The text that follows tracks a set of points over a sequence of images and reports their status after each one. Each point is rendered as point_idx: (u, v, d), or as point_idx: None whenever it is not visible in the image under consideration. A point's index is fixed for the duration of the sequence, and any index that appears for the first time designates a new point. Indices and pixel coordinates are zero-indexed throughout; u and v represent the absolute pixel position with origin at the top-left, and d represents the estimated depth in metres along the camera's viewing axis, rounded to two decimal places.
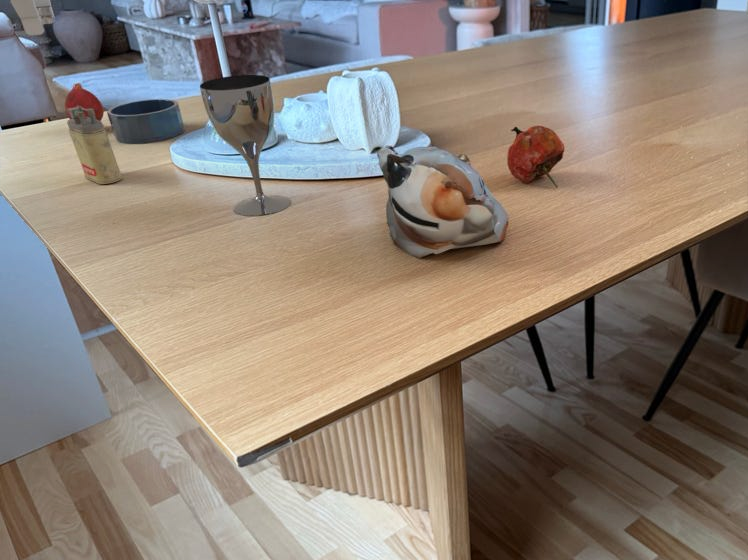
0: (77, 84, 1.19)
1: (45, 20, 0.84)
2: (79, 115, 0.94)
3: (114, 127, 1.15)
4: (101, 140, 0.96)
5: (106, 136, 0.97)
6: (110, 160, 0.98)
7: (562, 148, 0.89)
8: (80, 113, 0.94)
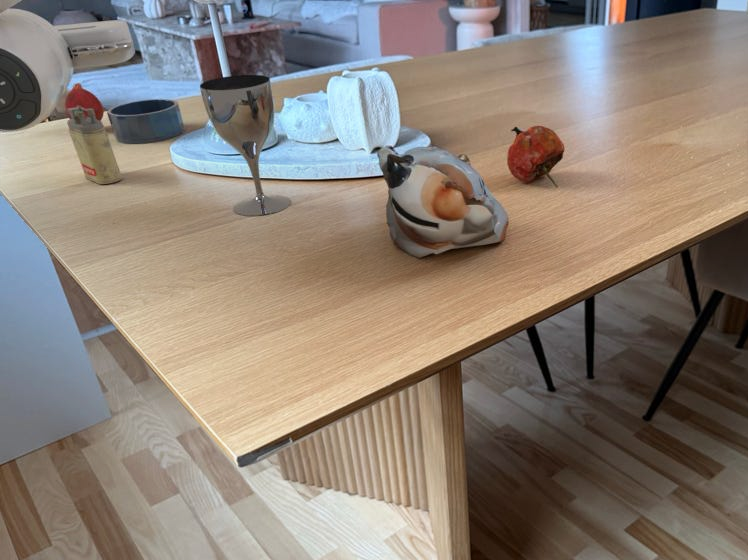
0: (77, 84, 1.19)
1: None
2: (79, 115, 0.94)
3: (114, 127, 1.15)
4: (101, 140, 0.96)
5: (106, 136, 0.97)
6: (110, 160, 0.98)
7: (562, 148, 0.89)
8: (80, 113, 0.94)
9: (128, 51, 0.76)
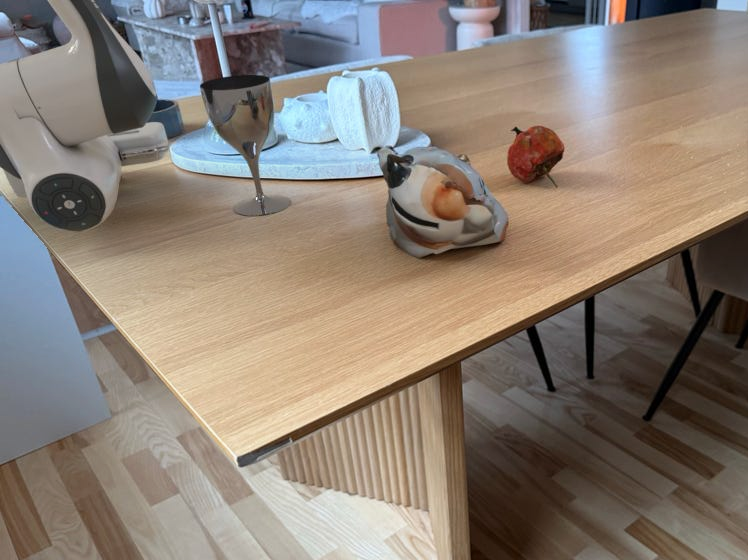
0: None
1: None
2: None
3: None
4: None
5: None
6: None
7: (562, 148, 0.89)
8: None
9: None
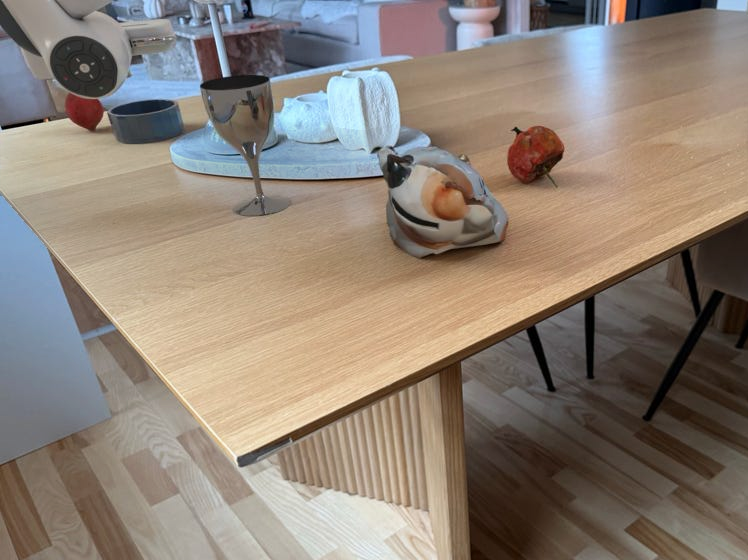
0: None
1: None
2: None
3: (114, 127, 1.15)
4: None
5: None
6: None
7: (562, 148, 0.89)
8: None
9: (172, 42, 1.01)
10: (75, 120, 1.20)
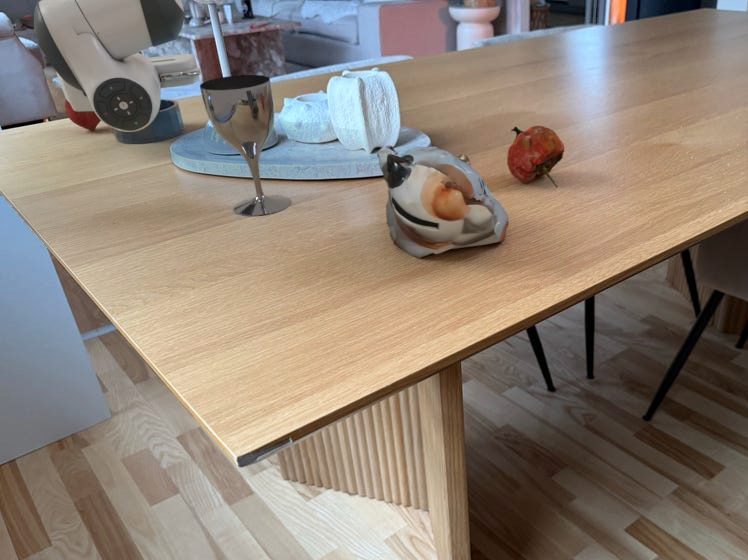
0: None
1: None
2: None
3: None
4: None
5: None
6: None
7: (562, 148, 0.89)
8: None
9: (196, 75, 1.10)
10: (75, 120, 1.20)
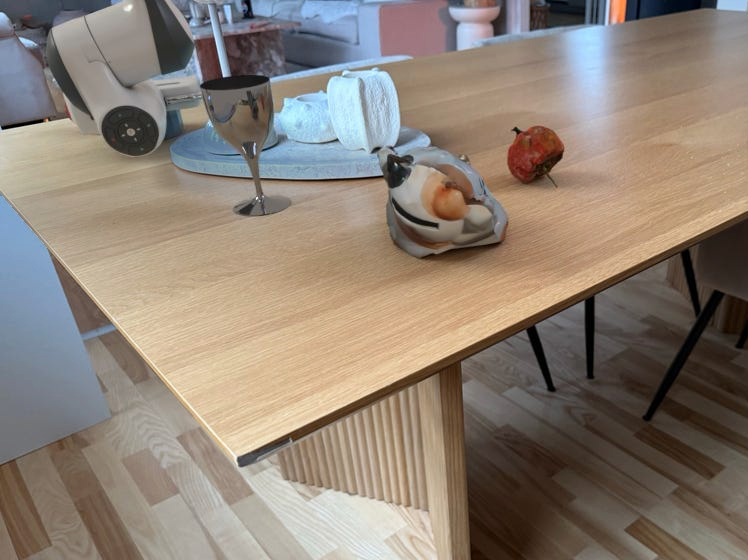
0: None
1: None
2: None
3: None
4: None
5: None
6: None
7: (562, 148, 0.89)
8: None
9: (200, 98, 1.12)
10: None
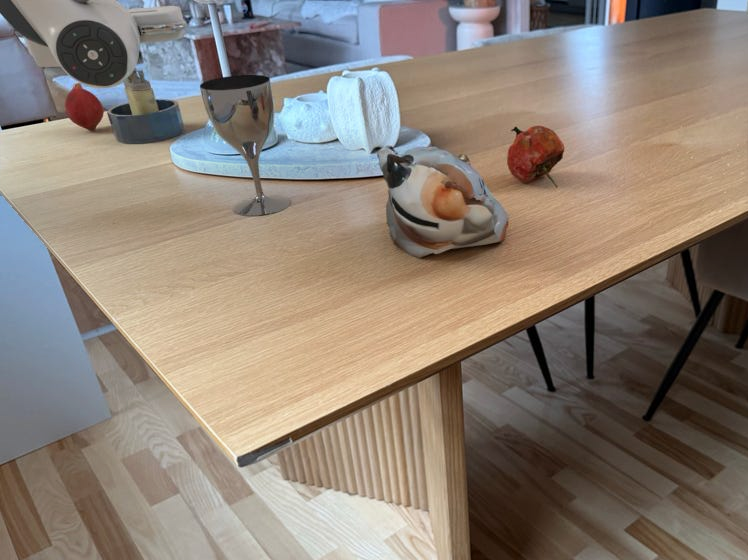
0: (77, 84, 1.19)
1: None
2: (130, 75, 1.12)
3: (114, 127, 1.15)
4: (147, 97, 1.14)
5: (152, 94, 1.15)
6: None
7: (562, 148, 0.89)
8: None
9: (182, 30, 0.96)
10: (75, 120, 1.20)
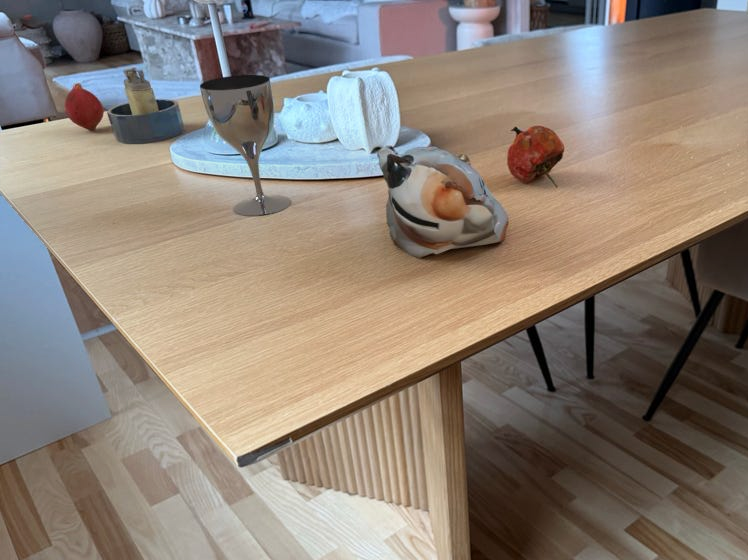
0: (77, 84, 1.19)
1: None
2: (130, 75, 1.12)
3: (114, 127, 1.15)
4: (147, 97, 1.14)
5: (152, 94, 1.15)
6: None
7: (562, 148, 0.89)
8: (131, 73, 1.12)
9: None
10: (75, 120, 1.20)
